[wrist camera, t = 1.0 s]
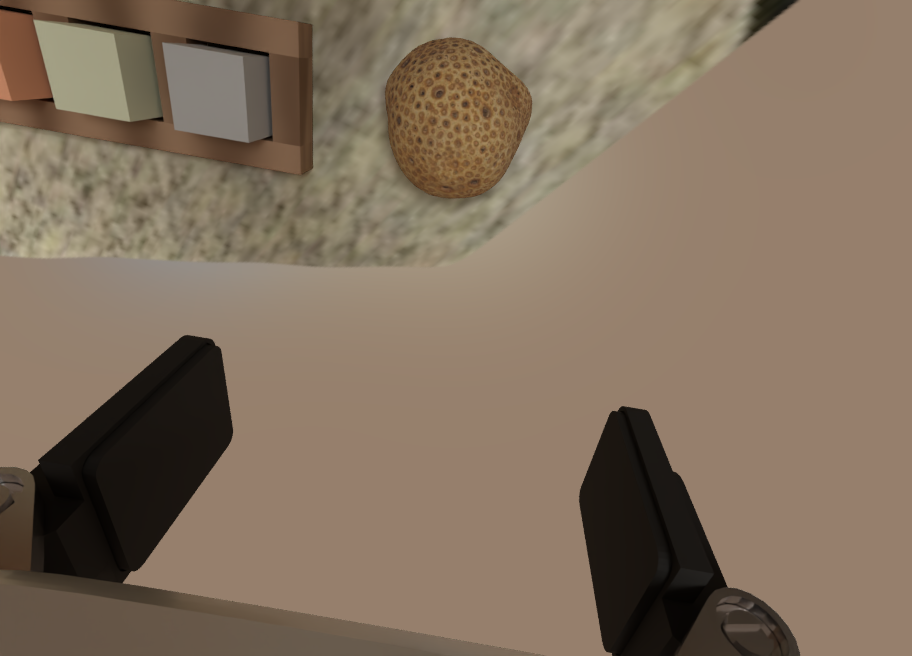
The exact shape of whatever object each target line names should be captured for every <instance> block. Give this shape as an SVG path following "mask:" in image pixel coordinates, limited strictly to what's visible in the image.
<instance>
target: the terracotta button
mask: <svg viewBox="0 0 912 656" xmlns="http://www.w3.org/2000/svg"><path fill="white" fill-rule="evenodd" d="M33 20H34V18H33V15H30V14H24V13H18V12H13V11H7V10H1V9H0V99H4V100H9V101H18V100H30V99H43V98H53V94H52V90H51V86H50V83H49V79H48V75H47V71H46V67H45V63H44V59H43V55H42V52H41V48H40V44H39V40H38V36H37V32H36V28H35V24H34V21H33Z"/></svg>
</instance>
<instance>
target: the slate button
mask: <svg viewBox="0 0 912 656" xmlns="http://www.w3.org/2000/svg"><path fill="white" fill-rule="evenodd" d="M162 45H163V52H164V59H165V66H166V73H167V80H168V87H169V94H170V101H171V108H172V115H173V122H174V129H175V130H179V131H184V132H190V133H196V134H201V135H207V136H213V137H218V138H224V139H229V140H235V141H241V142H246V143H250V142H253V141H256V140H260V139H263V138H266V137H269V136H272V135H273V131H272V108H271V86H270V64H269V57H268V56H262V55H257V54H251V53H245V52H240V51H234V50H228V49H223V48H217V47H211V46H206V45H200V44H183V43H165V42H162Z"/></svg>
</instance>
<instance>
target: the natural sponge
mask: <svg viewBox="0 0 912 656" xmlns="http://www.w3.org/2000/svg"><path fill="white" fill-rule="evenodd" d="M385 99H386V109H387V114H388V131H389V139H390V144H391V148H392V151H393V153H394V156H395V158H396V161H397V162H398V165H399V166H400V168H401V170H402V171H403V173H404V174H405V175H406V177H407V178H408V179H409V180H410V181H411V182H412V183H413V184H414V185H415V186H416V187H418V188H420V189H421V190H423V191H424V192H426V193H428V194H430V195H433V196H438V197H444V198H466V197H473V196H477V195H480V194H482V193H484V192H486V191H487V190H489V189H490V188H492V187H493V186H494V185H495V184H496V183H497V182H498V181H499V180H500V179H501V178H502V177H503V175H504V174H505V172H506V170H507V169H508V167H509V165H510V163H511V161H512V159H513V157H514V155H515V153H516V151H517V149H518V147H519V144H520V142H521V140H522V137H523V134H524V132H525V130H526V127H527V125H528V123H529V120H530V117H531V111H532V98H531V95H530V92H529V91H528V89H527V87H526V86H525V85H524V83H523V82H522V81H521V80H520V79H519V78H518V77H516V76H515V75H514V74H513V73H512V72H511V71H509V70H508V69H507V68H506V67H505V66H504V65H503V64H502V63H500V62H499V61H498V60H497V59H496V58H495V57H494V56H493V55H492V54H491V53H490V52H488V51H487V50H486V49H485V48H483V47H482V46H480V45H478V44H476V43H474V42H472V41H469V40H465V39H462V38H445V39H438V40H432V41H429V42H427V43H425V44H422V45H420V46H418V47H417V48H415V49H414V50H412V51H411V52H410V53H409V54H408V55H407V56H406V57H405V58H404V59H403V60H402V61H401V62H400V63H399V65H398V66H397V67H396V68H395V70H394V71H393V72H392V74H391V75H390V77H389V79H388V81H387V85H386V90H385Z"/></svg>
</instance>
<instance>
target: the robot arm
mask: <svg viewBox="0 0 912 656" xmlns="http://www.w3.org/2000/svg"><path fill="white" fill-rule="evenodd" d="M232 436H233V427H232V420H231V413H230V407H229V400H228V393H227V386H226V380H225V373H224V366H223V360H222V353H221V349H220V348H219V347H218V346H215V343H214V342H213V340H211V339H208V338H202V337H195V336H190V335H185V336H183V337H181V338H180V339H179V340H178V341H177V342H175V343H174V344H173V345H172V346H171V347H169V348H168V349H167V350H166V351H165V352H164V353H162V354H161V355H160V356H159V357H158V358H157V359H156V360H154V361H153V362H152V363H151V364H150V365H149V366H147V367H146V368H145V369H144V370H143V371H142V372H140V373H139V374H138V375H137V376H136V377H135V378H133V379H132V380H131V381H130V382H129V383H128V384H126V385H125V386H124V387H123V388H122V389H121V390H119V391H118V392H117V393H116V394H115V395H114V396H112V397H111V398H110V399H109V400H108V401H107V402H105V403H104V404H103V405H102V406H101V407H100V408H98V409H97V410H96V411H95V412H94V413H93V414H91V415H90V416H89V417H88V418H87V419H86V420H85V421H84V422H82V423H81V424H80V425H79V426H78V427H76V428H75V429H74V430H73V431H72V432H71V433H69V434H68V435H67V436H66V437H65V438H64V439H62V440H61V441H60V442H59V443H58V444H56V446H54V447H53V448H52V449H51V450H49V451H48V452H47V453H46V454H45V455H44V456H42V457H41V458H40V459H39V460H38V461H39V463H40V464H39V465H38V466H37V467H36V468H35V469H33V470H32V471H31V472H30V473H29V472H28V471H27V470H24V469H20V468H16V467H0V656H544V655H539V654H534V653H529V652H523V651H518V650H512V649H506V648H501V647H495V646H489V645H483V644H478V643H472V642H466V641H461V640H455V639H450V638H444V637H438V636H432V635H427V634H421V633H415V632H409V631H404V630H398V629H392V628H386V627H380V626H375V625H369V624H362V623H357V622H352V621H345V620H340V619H334V618H328V617H322V616H317V615H311V614H305V613H299V612H293V611H287V610H281V609H275V608H270V607H263V606H258V605H252V604H245V603H239V602H233V601H228V600H221V599H215V598H209V597H203V596H197V595H191V594H185V593H179V592H173V591H167V590H161V589H154V588H148V587H143V586H136V585H130V584H123V581H124V580H125V579H126V577H127V576H128V575H129V573H130V572H131V571H136V570H138V569H139V568H140V567H141V566H142V565H143V564H144V563H145V561H146V560H147V558H148V557H149V556H150V554H151V553H152V551H153V550H154V548H155V547H156V546H157V545H158V543H159V542H160V540H161V539H162V538H163V536H164V535H165V533H166V532H167V531H168V529H169V528H170V526H171V525H172V524H173V522H174V521H175V519H176V518H177V517H178V515H179V514H180V512H181V511H182V510H183V508H184V507H185V505H186V504H187V503H188V501H189V500H190V498H191V497H192V496H193V494H194V493H195V491H196V490H197V489H198V487H199V486H200V485H201V483H202V482H203V480H204V479H205V478H206V476H207V475H208V473H209V472H210V471H211V469H212V468H213V466H214V465H215V464H216V462H217V461H218V459H219V458H220V457H221V455H222V454H223V452H224V451H225V450H226V448H227V447H228V445H229V444H230V442H231V439H232ZM579 503H580V510H581V515H582V521H583V528H584V534H585V539H586V545H587V552H588V558H589V564H590V569H591V575H592V582H593V588H594V594H595V600H596V606H597V612H598V618H599V624H600V630H601V636H602V642H603V646H604V649H605V651H606V652H610V653H612V656H800V652H799V649H798V646H797V642H796V639H795V637H794V636H793V634H792V632H791V630H790V629H789V627H788V626H787V624H786V623H785V622H784V621H783V620H782V618H781V617H780V616H779V615H778V614H777V613H776V612H775V611H774V610H773V609H772V608H771V607H770V606H768V605H767V604H766V603H765V602H764V601H762V600H760V599H759V598H757V597H755V596H753V595H752V594H750V593H748V592H745V591H742V590H740V589H737V588H728V587H727V585H726V582H725V580H724V577H723V575H722V573H721V570H720V568H719V566H718V563H717V561H716V559H715V556H714V554H713V551H712V549H711V546H710V544H709V542H708V540H707V537H706V535H705V532H704V530H703V527H702V525H701V523H700V520H699V518H698V516H697V513H696V511H695V508H694V506H693V504H692V501H691V499H690V496H689V494H688V492H687V490H686V487H685V485H684V482H683V480H682V479H681V477H680V476H679V475H678V474H677V473H676V472H673V471H672V468H671V466H670V464H669V461H668V458H667V456H666V453H665V451H664V448H663V446H662V443H661V441H660V439H659V436H658V434H657V431H656V429H655V426H654V424H653V421H652V419H651V416H650V414H649V412H648V411H647V410H642V409H636V408H631V407H624V406H622V407H620V408H619V410H618V412H616V411H612V412H611V413H610V415H609V417H608V420H607V422H606V425H605V428H604V430H603V433H602V435H601V438H600V440H599V443H598V445H597V448H596V450H595V453H594V455H593V458H592V461H591V463H590V466H589V468H588V471H587V473H586V476H585V478H584V481H583V484H582V486H581V489H580V496H579Z"/></svg>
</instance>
